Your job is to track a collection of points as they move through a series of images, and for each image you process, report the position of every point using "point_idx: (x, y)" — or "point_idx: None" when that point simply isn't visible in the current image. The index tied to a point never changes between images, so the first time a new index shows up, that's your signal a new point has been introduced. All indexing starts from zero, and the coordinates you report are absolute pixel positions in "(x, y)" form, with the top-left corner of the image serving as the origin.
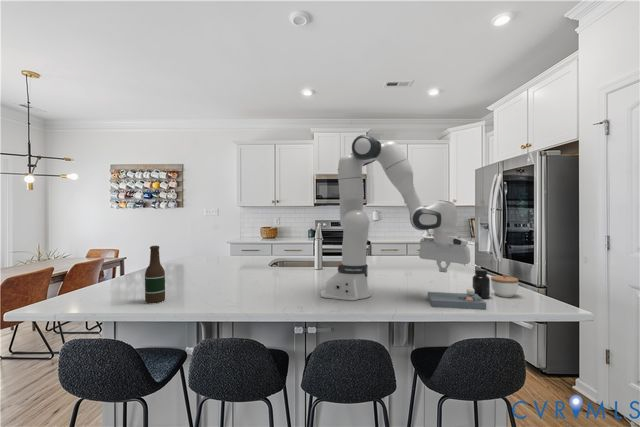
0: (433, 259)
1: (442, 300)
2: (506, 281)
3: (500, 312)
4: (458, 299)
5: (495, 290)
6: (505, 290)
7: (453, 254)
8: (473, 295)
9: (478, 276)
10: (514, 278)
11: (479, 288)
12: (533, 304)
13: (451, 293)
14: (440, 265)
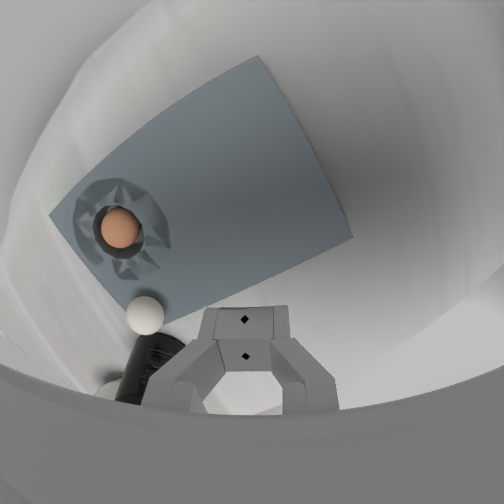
0: (395, 408)
1: (203, 96)
2: None
3: (29, 204)
4: (144, 183)
5: None
6: (107, 388)
7: (34, 485)
8: None
9: None
10: None
11: (142, 363)
12: (47, 341)
13: (230, 281)
14: (284, 379)
